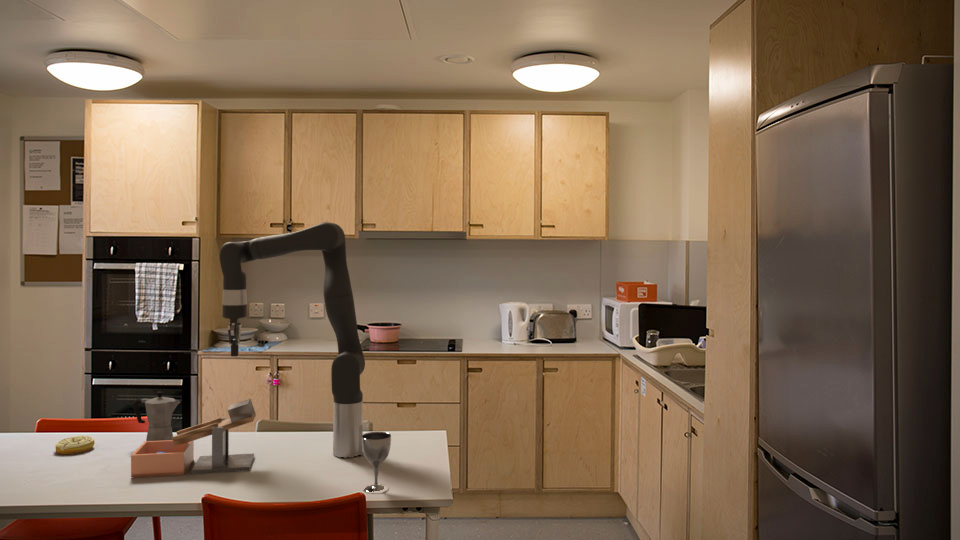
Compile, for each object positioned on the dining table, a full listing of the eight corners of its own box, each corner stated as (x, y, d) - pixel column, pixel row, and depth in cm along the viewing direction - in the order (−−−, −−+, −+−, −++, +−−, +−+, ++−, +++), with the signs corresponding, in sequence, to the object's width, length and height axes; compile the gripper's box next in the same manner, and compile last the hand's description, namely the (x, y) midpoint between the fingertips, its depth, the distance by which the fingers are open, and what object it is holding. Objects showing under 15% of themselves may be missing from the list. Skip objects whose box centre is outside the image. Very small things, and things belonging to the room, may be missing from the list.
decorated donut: (52, 450, 213) (51, 438, 213) (89, 443, 221) (89, 432, 220) (59, 457, 206) (59, 445, 206) (98, 450, 213) (98, 439, 213)
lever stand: (254, 457, 209) (254, 416, 208) (249, 470, 196) (249, 427, 195) (200, 460, 205) (200, 418, 205) (191, 474, 192) (191, 429, 192)
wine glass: (362, 484, 186) (363, 431, 186) (391, 483, 187) (391, 431, 187) (360, 494, 178) (360, 439, 178) (389, 494, 179) (390, 439, 179)
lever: (256, 414, 206) (250, 398, 205) (253, 421, 198) (247, 404, 198) (180, 439, 201) (174, 422, 201) (174, 446, 193) (168, 429, 193)
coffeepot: (185, 441, 224) (185, 388, 224) (173, 449, 215) (173, 394, 214) (139, 440, 224) (139, 388, 223) (125, 449, 214) (125, 394, 214)
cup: (193, 459, 205) (193, 439, 205) (183, 475, 191) (183, 452, 191) (144, 462, 202) (144, 441, 202) (131, 478, 188) (131, 455, 188)
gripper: (244, 304, 209) (244, 359, 210) (249, 301, 222) (249, 352, 223) (219, 305, 208) (219, 359, 208) (225, 301, 221) (225, 353, 221)
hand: (234, 356), depth 216 cm, fingers closed
